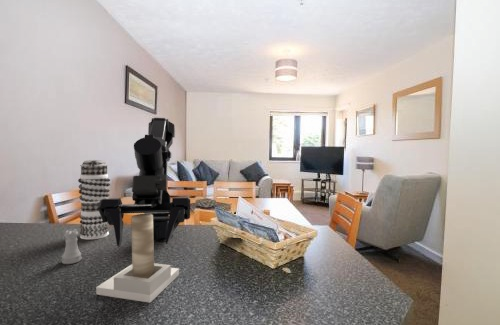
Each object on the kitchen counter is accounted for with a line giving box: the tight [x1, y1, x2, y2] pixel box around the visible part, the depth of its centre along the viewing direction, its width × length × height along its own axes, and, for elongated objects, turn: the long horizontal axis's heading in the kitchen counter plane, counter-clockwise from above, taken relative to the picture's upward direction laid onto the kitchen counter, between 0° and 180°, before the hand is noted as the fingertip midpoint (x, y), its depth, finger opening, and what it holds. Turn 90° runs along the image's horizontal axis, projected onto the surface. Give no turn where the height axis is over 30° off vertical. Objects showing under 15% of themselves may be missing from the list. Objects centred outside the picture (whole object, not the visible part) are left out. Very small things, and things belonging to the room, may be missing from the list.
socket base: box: [95, 262, 180, 303], centre depth 59 cm, size 12×12×4 cm
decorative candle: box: [77, 159, 111, 240], centre depth 90 cm, size 9×9×25 cm
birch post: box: [130, 213, 155, 279], centre depth 57 cm, size 4×4×14 cm
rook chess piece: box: [60, 228, 83, 265], centre depth 70 cm, size 4×4×8 cm
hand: (143, 244), depth 55 cm, fingers open, 9 cm apart
